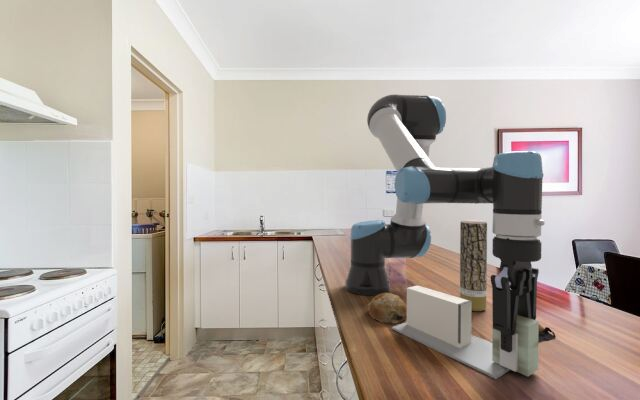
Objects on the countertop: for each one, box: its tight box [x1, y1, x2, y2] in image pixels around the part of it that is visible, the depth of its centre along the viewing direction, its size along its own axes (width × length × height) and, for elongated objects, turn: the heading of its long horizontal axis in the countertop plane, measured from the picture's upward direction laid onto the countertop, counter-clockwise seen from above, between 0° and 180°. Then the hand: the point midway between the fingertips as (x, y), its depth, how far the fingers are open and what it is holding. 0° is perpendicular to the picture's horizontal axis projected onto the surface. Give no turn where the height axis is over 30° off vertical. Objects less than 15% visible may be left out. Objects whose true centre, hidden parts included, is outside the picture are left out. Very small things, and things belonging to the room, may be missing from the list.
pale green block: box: [492, 315, 540, 377], centre depth 56 cm, size 6×4×9 cm, turn 34°
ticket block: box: [391, 285, 511, 380], centre depth 66 cm, size 24×12×10 cm, turn 34°
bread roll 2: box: [538, 323, 557, 344], centre depth 72 cm, size 11×8×4 cm
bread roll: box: [367, 292, 407, 325], centre depth 81 cm, size 10×10×8 cm
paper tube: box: [459, 219, 488, 312], centre depth 87 cm, size 7×7×25 cm
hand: (514, 363), depth 56 cm, fingers closed on pale green block, 4 cm apart
